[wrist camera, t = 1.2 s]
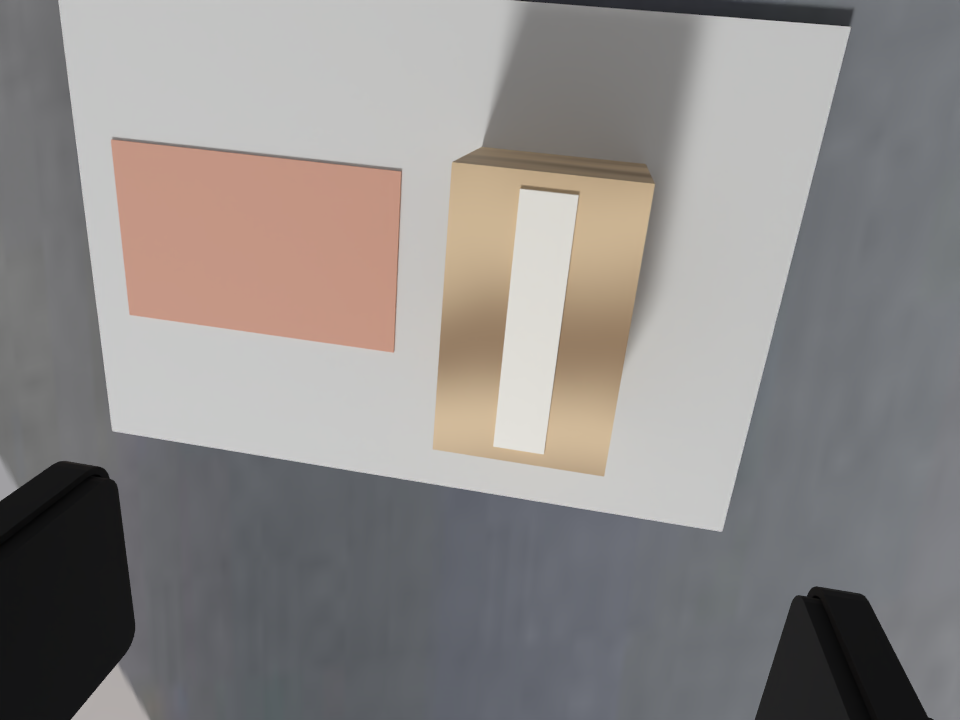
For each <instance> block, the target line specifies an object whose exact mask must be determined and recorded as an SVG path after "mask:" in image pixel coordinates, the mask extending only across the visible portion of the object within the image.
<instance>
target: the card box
mask: <svg viewBox="0 0 960 720" xmlns="http://www.w3.org/2000/svg"><path fill="white" fill-rule="evenodd" d="M654 187H655V183H654V181H653V178H652V176H651V174H650V172H649V170H648V168H647V165H646V164H641V163H632V162H622V161H613V160H603V159H594V158H584V157H574V156H565V155H555V154H546V153H536V152H527V151H517V150H507V149H498V148H488V147H480V148H478V149H476V150H475V151H473V152H471V153H469V154H467V155H465V156H463V157H461V158H459V159H457V160H455V161H453V162H452V168H451V183H450V198H449V213H448V228H447V243H446V257H445V272H444V287H443V302H442V317H441V332H440V347H439V362H438V376H437V391H436V406H435V421H434V436H433V450H440V451H446V452H452V453H459V454H465V455H471V456H477V457H484V458H490V459H496V460H503V461H509V462H515V463H521V464H528V465H534V466H540V467H547V468H553V469H559V470H566V471H572V472H578V473H584V474H591V475H597V476H603V477H604V475H605V469H606V463H607V457H608V452H609V446H610V440H611V434H612V429H613V423H614V417H615V411H616V406H617V400H618V394H619V388H620V383H621V377H622V371H623V365H624V360H625V354H626V348H627V342H628V337H629V331H630V325H631V319H632V314H633V308H634V302H635V296H636V291H637V285H638V279H639V273H640V268H641V262H642V256H643V250H644V245H645V239H646V233H647V227H648V222H649V216H650V210H651V204H652V199H653V193H654Z"/></svg>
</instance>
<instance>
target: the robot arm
mask: <svg viewBox="0 0 960 720" xmlns="http://www.w3.org/2000/svg"><path fill="white" fill-rule="evenodd" d="M134 633H135V619H134V611H133V603H132V596H131V588H130V580H129V572H128V564H127V556H126V548H125V540H124V532H123V525H122V517H121V509H120V501H119V493H118V488H117V484H116V483H115V481H113V480H111V479H109V475H108V473H107V472H106V470H105V469H103V468H101V467H98V466H92V465H86V464H80V463H74V462H68V461H60V462H57V463H55V464H53V465H52V466H50V467H49V468H47V469H46V470H44V471H43V472H42V473H40V474H39V475H37V476H36V477H34V478H33V479H32V480H30V481H29V482H27V483H26V484H24V485H23V486H21V487H20V488H19V489H17V490H16V491H14V492H13V493H11V494H10V495H9V496H7V497H6V498H4V499H3V500H1V501H0V720H71V719H72V717H73V716H74V715H75V714H76V713H77V711H78V710H79V709H80V708H81V707H82V705H83V704H84V703H85V702H86V701H87V699H88V698H89V697H90V696H91V695H92V693H93V692H94V691H95V690H96V688H97V687H98V686H99V685H100V684H101V682H102V681H103V680H104V679H105V678H106V676H107V675H108V674H109V673H110V672H111V671H112V669H113V668H114V667H115V666H116V665H117V663H118V662H119V661H120V660H121V659H122V657H123V656H124V655H125V654H126V652H127V651H128V649H129V647H130V645H131V643H132V640H133V638H134ZM755 720H933V719H932V718H928V716H927V714H926V712H925V710H924V708H923V707H922V705H921V703H920V701H919V699H918V697H917V695H916V693H915V691H914V689H913V687H912V685H911V683H910V681H909V679H908V677H907V675H906V673H905V671H904V669H903V667H902V666H901V664H900V662H899V660H898V658H897V656H896V654H895V652H894V650H893V648H892V646H891V644H890V642H889V640H888V638H887V636H886V634H885V632H884V630H883V628H882V627H881V625H880V623H879V621H878V619H877V617H876V615H875V613H874V611H873V609H872V607H871V605H870V603H869V601H868V600H867V599H866V597H865V596H864V595H862V594H859V593H853V592H847V591H841V590H835V589H829V588H823V587H817V586H816V587H813V588H812V589H811V590H810V591H809V593H808V595H807V597H806V596H800V595H798V596H795V598H794V599H793V601H792V603H791V606H790V609H789V613H788V616H787V619H786V622H785V625H784V629H783V632H782V635H781V638H780V641H779V644H778V648H777V651H776V654H775V657H774V660H773V664H772V667H771V670H770V673H769V676H768V680H767V683H766V686H765V689H764V692H763V695H762V699H761V702H760V705H759V708H758V711H757V715H756V718H755Z"/></svg>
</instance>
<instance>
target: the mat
mask: <svg viewBox="0 0 960 720" xmlns="http://www.w3.org/2000/svg"><path fill="white" fill-rule="evenodd" d="M58 1H59V9H60V17H61V25H62V33H63V41H64V49H65V57H66V65H67V73H68V81H69V89H70V97H71V105H72V113H73V121H74V129H75V137H76V145H77V153H78V161H79V169H80V177H81V185H82V193H83V201H84V209H85V217H86V225H87V233H88V241H89V249H90V257H91V265H92V273H93V281H94V289H95V297H96V305H97V312H98V320H99V328H100V336H101V344H102V352H103V360H104V368H105V376H106V384H107V392H108V400H109V408H110V416H111V424H112V431H115V432H121V433H127V434H133V435H139V436H145V437H151V438H157V439H163V440H169V441H176V442H182V443H188V444H194V445H200V446H206V447H212V448H218V449H224V450H230V451H236V452H242V453H248V454H254V455H260V456H266V457H272V458H278V459H285V460H291V461H297V462H303V463H309V464H315V465H321V466H327V467H333V468H339V469H345V470H351V471H357V472H363V473H369V474H375V475H381V476H387V477H393V478H400V479H406V480H412V481H418V482H424V483H430V484H436V485H442V486H448V487H454V488H460V489H466V490H472V491H478V492H484V493H490V494H496V495H502V496H508V497H515V498H521V499H527V500H533V501H539V502H545V503H551V504H557V505H563V506H569V507H575V508H581V509H587V510H593V511H599V512H605V513H611V514H617V515H624V516H630V517H636V518H642V519H648V520H654V521H660V522H666V523H672V524H678V525H684V526H690V527H696V528H702V529H708V530H714V531H720V532H722V530H723V526H724V522H725V519H726V515H727V511H728V507H729V503H730V499H731V495H732V491H733V487H734V483H735V479H736V475H737V472H738V468H739V464H740V460H741V456H742V452H743V448H744V444H745V440H746V436H747V432H748V428H749V425H750V421H751V417H752V413H753V409H754V405H755V401H756V397H757V393H758V389H759V385H760V381H761V378H762V374H763V370H764V366H765V362H766V358H767V354H768V350H769V346H770V342H771V338H772V334H773V331H774V327H775V323H776V319H777V315H778V311H779V307H780V303H781V299H782V295H783V291H784V287H785V284H786V280H787V276H788V272H789V268H790V264H791V260H792V256H793V252H794V248H795V244H796V240H797V237H798V233H799V229H800V225H801V221H802V217H803V213H804V209H805V205H806V201H807V197H808V193H809V190H810V186H811V182H812V178H813V174H814V170H815V166H816V162H817V158H818V154H819V150H820V146H821V143H822V139H823V135H824V131H825V127H826V123H827V119H828V115H829V111H830V107H831V103H832V99H833V96H834V92H835V88H836V84H837V80H838V76H839V72H840V68H841V64H842V60H843V56H844V52H845V49H846V45H847V41H848V37H849V33H850V29H851V27H847V26H834V25H821V24H808V23H796V22H783V21H770V20H757V19H745V18H732V17H719V16H706V15H693V14H681V13H668V12H655V11H642V10H629V9H617V8H604V7H591V6H578V5H566V4H553V3H540V2H527V1H514V0H58ZM480 147H488V148H498V149H507V150H517V151H527V152H536V153H546V154H555V155H565V156H574V157H584V158H594V159H603V160H613V161H622V162H632V163H641V164H646V165H647V168H648V170H649V172H650V174H651V176H652V178H653V181H654V183H655V187H654V193H653V199H652V204H651V210H650V216H649V222H648V227H647V233H646V239H645V245H644V250H643V256H642V262H641V268H640V273H639V279H638V285H637V291H636V296H635V302H634V308H633V314H632V319H631V325H630V331H629V337H628V342H627V348H626V354H625V360H624V365H623V371H622V377H621V383H620V388H619V394H618V400H617V406H616V411H615V417H614V423H613V429H612V434H611V440H610V446H609V452H608V457H607V463H606V469H605V475H604V477H603V476H597V475H591V474H584V473H578V472H572V471H566V470H559V469H553V468H547V467H540V466H534V465H528V464H521V463H515V462H509V461H503V460H496V459H490V458H484V457H477V456H471V455H465V454H459V453H452V452H446V451H440V450H433V436H434V421H435V406H436V391H437V376H438V362H439V347H440V332H441V317H442V302H443V287H444V272H445V257H446V243H447V228H448V213H449V198H450V183H451V168H452V162H453V161H455V160H457V159H459V158H461V157H463V156H465V155H467V154H469V153H471V152H473V151H475V150H476V149H478V148H480Z"/></svg>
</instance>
